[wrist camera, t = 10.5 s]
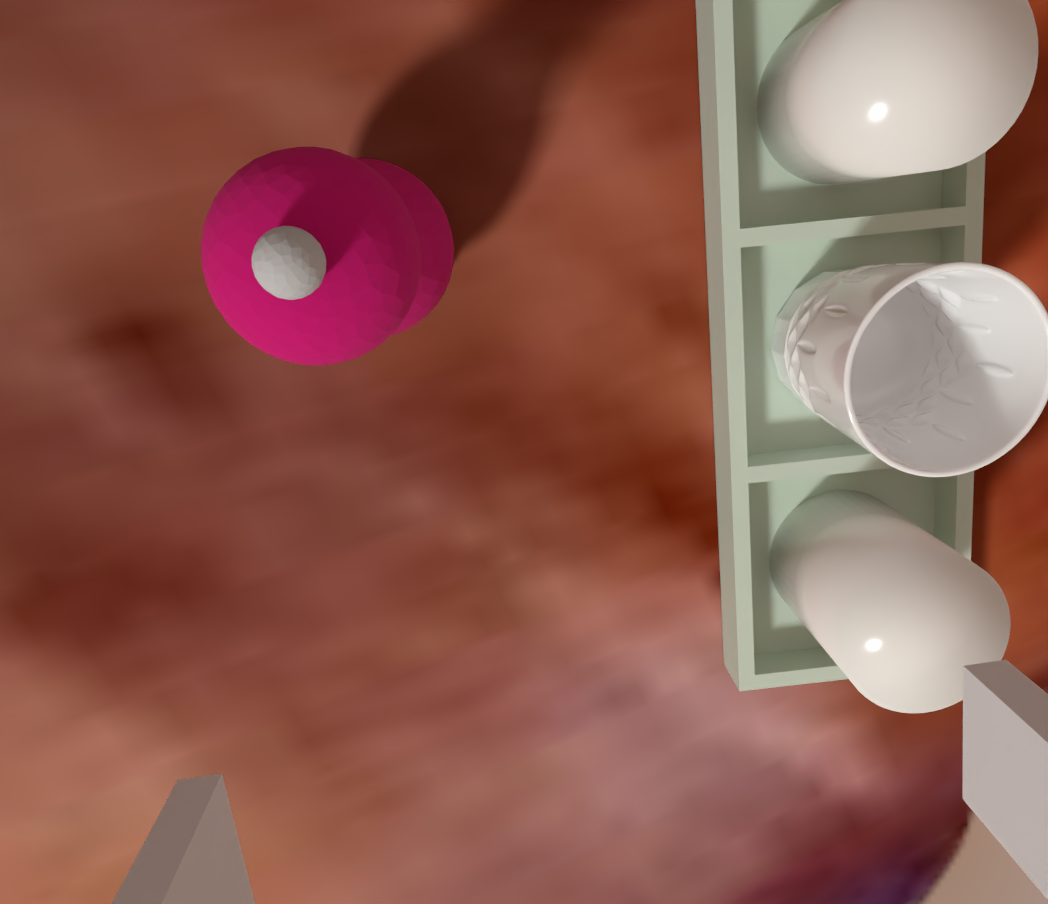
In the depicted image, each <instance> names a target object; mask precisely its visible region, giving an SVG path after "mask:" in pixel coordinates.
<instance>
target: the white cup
mask: <svg viewBox="0 0 1048 904" xmlns="http://www.w3.org/2000/svg"><path fill="white" fill-rule="evenodd" d="M771 353H772V356H773V360H774V363H775V367H776V370H777V374H778V377H779V380H780V381H781V382H782V383H783V384H784V385H785V386H786V387H787V388H788V389H789V390H790V391H791V392H792V393H793V395H794V396H795V397H796V398H797V399H798V400H799V401H800V402H802V403H803V404H805V405H806V406H807V407H808V408H809V409H810V410H812V411H813V412H814V413H815V414H817V415H818V416H819V417H820V418H822V419H823V420H824V421H826V422H827V423H828V424H830V425H831V426H832V427H834V428H835V429H836V430H838V431H839V432H841V433H842V434H844V435H845V436H847V437H848V438H850V439H851V440H853V441H854V442H856V443H857V444H859V445H860V446H862V447H863V448H865V449H866V450H868V451H869V452H870V453H872V454H873V455H875V456H876V457H878V458H879V459H880V460H882V461H883V462H885V463H886V464H888V465H890V466H892V467H894V468H896V469H898V470H901V471H903V472H906V473H909V474H913V475H918V476H924V477H948V476H955V475H960V474H964V473H968V472H971V471H974V470H977V469H979V468H981V467H984V466H986V465H988V464H990V463H991V462H993V461H995V460H997V459H998V458H1000V457H1001V456H1003V455H1004V454H1005V453H1007V452H1008V451H1009V450H1011V449H1012V448H1013V447H1014V446H1015V445H1016V444H1017V443H1018V442H1019V441H1020V440H1021V439H1022V438H1023V437H1024V436H1025V435H1026V434H1027V433H1028V432H1029V430H1030V429H1031V428H1032V426H1033V425H1034V424H1035V422H1036V421H1037V419H1038V418H1039V416H1040V414H1041V412H1042V411H1043V409H1044V407H1045V405H1046V402H1047V400H1048V313H1047V311H1046V309H1045V308H1044V306H1043V304H1042V303H1041V301H1040V300H1039V298H1038V297H1037V296H1036V295H1035V293H1034V292H1033V291H1032V290H1031V289H1030V288H1029V287H1028V286H1027V285H1026V284H1025V283H1023V282H1022V281H1021V280H1019V279H1018V278H1017V277H1015V276H1013V275H1012V274H1010V273H1008V272H1006V271H1004V270H1002V269H999V268H997V267H994V266H990V265H986V264H981V263H974V262H945V263H897V264H881V265H867V266H861V267H857V268H849V269H841V270H833V271H825V272H822V273H821V274H819V275H817V276H816V277H814V278H813V279H811V280H810V281H808V282H806V283H805V284H803V285H802V286H800V287H798V288H797V289H795V290H794V292H793V293H792V295H791V296H790V298H789V299H788V301H787V302H786V304H785V305H784V307H783V308H782V310H781V311H780V313H779V314H778V316H777V317H776V321H775V327H774V333H773V339H772V345H771Z"/></svg>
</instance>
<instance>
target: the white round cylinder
mask: <svg viewBox="0 0 1048 904" xmlns="http://www.w3.org/2000/svg"><path fill="white" fill-rule="evenodd" d="M1037 63H1038V35H1037V27H1036V23H1035V19H1034V15H1033V12H1032V10H1031V7H1030V5H1029V2H1028V0H843V1H842V2H840V3H839V4H837V5H835V6H834V7H832V8H831V9H829V10H828V11H826V12H824V13H823V14H821V15H820V16H818V17H817V18H815V19H813V20H812V21H810V22H809V23H807V24H805V25H804V26H802V27H801V28H799V29H798V30H796V31H795V32H793V33H792V34H791V35H790V36H789V37H787V38H786V39H785V40H784V41H783V42H782V43H781V44H780V46H779V47H778V48H777V49H776V51H775V52H774V53H773V55H772V56H771V58H770V60H769V61H768V63H767V65H766V67H765V69H764V72H763V74H762V77H761V80H760V84H759V88H758V94H757V107H756V111H757V121H758V126H759V130H760V134H761V136H762V139H763V142H764V144H765V146H766V148H767V150H768V151H769V153H770V154H771V155H772V157H773V158H774V159H775V161H776V162H777V163H778V164H779V165H780V166H781V167H782V168H784V169H785V170H786V171H787V172H789V173H790V174H792V175H794V176H795V177H797V178H800V179H802V180H804V181H808V182H811V183H816V184H840V183H847V182H855V181H862V180H870V179H878V178H885V177H893V176H900V175H908V174H915V173H923V172H930V171H937V170H943V169H949V168H952V167H955V166H959V165H962V164H964V163H966V162H968V161H970V160H973V159H975V158H976V157H978V156H979V155H981V154H983V153H984V152H986V151H987V150H988V149H990V148H991V147H992V146H993V145H995V144H996V143H997V142H998V141H999V140H1000V139H1001V138H1002V137H1003V136H1004V135H1005V134H1006V133H1007V131H1008V130H1009V129H1010V128H1011V126H1012V125H1013V124H1014V123H1015V121H1016V120H1017V118H1018V116H1019V115H1020V113H1021V112H1022V110H1023V108H1024V106H1025V104H1026V102H1027V100H1028V97H1029V95H1030V92H1031V89H1032V86H1033V83H1034V79H1035V75H1036V70H1037Z"/></svg>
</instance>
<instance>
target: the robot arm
mask: <svg viewBox="0 0 1048 904" xmlns="http://www.w3.org/2000/svg"><path fill="white" fill-rule="evenodd" d="M963 800H964V801H965V802H966V803H967V805H968V806H969V807H970V808H971V809H972V810H973V812H974V813H975V814H976V815H977V816H978V817H979V819H980V820H981V821H982V822H983V824H984V825H985V826H986V827H987V828H988V830H989V831H990V832H991V833H992V834H993V835H994V837H995V838H996V839H997V840H998V841H999V843H1000V844H1001V845H1002V846H1003V847H1004V849H1005V850H1006V851H1007V852H1008V853H1009V854H1010V856H1011V857H1012V858H1013V859H1014V860H1015V862H1016V863H1017V864H1018V865H1019V866H1020V867H1021V869H1022V870H1023V871H1024V872H1025V873H1026V875H1027V876H1028V877H1029V878H1030V879H1031V881H1032V882H1033V883H1034V884H1035V885H1036V887H1037V888H1038V889H1039V890H1040V891H1041V892H1042V894H1043V895H1044V896H1045V897H1046V898H1047V899H1048V694H1047V693H1046V692H1044V691H1043V690H1042V689H1041V688H1040V687H1038V686H1037V685H1036V684H1035V683H1034V682H1032V681H1031V680H1030V679H1029V678H1028V677H1026V676H1025V675H1024V674H1023V673H1022V672H1020V671H1019V670H1018V669H1017V668H1015V667H1014V666H1013V665H1012V664H1011V663H1009V662H1008V661H1007V660H1000V661H993V662H986V663H979V664H972V665H966V666H963ZM112 904H255V901H254V897H253V893H252V889H251V886H250V882H249V878H248V874H247V870H246V866H245V862H244V858H243V855H242V851H241V847H240V843H239V839H238V835H237V831H236V827H235V823H234V820H233V816H232V812H231V808H230V804H229V800H228V796H227V792H226V789H225V785H224V781H223V777H222V774H217V775H210V776H203V777H196V778H189V779H182V780H178V781H177V782H176V784H175V786H174V788H173V790H172V792H171V794H170V796H169V797H168V799H167V801H166V803H165V805H164V807H163V809H162V811H161V812H160V814H159V816H158V818H157V820H156V822H155V824H154V826H153V827H152V829H151V831H150V833H149V835H148V837H147V839H146V841H145V842H144V844H143V846H142V848H141V850H140V852H139V854H138V855H137V857H136V859H135V861H134V863H133V865H132V867H131V869H130V870H129V872H128V874H127V876H126V878H125V880H124V882H123V884H122V885H121V887H120V889H119V891H118V893H117V895H116V897H115V899H114V900H113V902H112Z"/></svg>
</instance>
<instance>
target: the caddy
mask: <svg viewBox="0 0 1048 904" xmlns="http://www.w3.org/2000/svg"><path fill="white" fill-rule="evenodd" d="M842 1H843V0H696V21H697V45H698V68H699V91H700V115H701V138H702V162H703V185H704V208H705V232H706V255H707V278H708V302H709V325H710V348H711V372H712V395H713V418H714V442H715V465H716V488H717V512H718V535H719V558H720V582H721V605H722V629H723V652H724V665H725V667H726V668H727V670H728V672H729V674H730V676H731V677H732V679H733V681H734V683H735V684H736V686H737V688H738V690H739V691H746V690H755V689H764V688H773V687H781V686H790V685H799V684H808V683H816V682H825V681H834V680H843V679H848V677H847V676H846V675H845V674H844V673H843V671H842V670H841V669H840V668H839V667H838V665H837V664H836V663H835V662H834V661H833V659H832V658H831V657H830V656H829V654H828V653H827V652H826V651H825V650H824V648H823V647H822V646H821V645H820V644H819V642H818V641H817V640H816V639H815V638H814V636H813V635H812V634H811V633H810V632H809V630H808V629H807V628H806V627H805V625H804V624H803V623H802V622H801V621H800V619H799V618H798V617H797V616H796V615H795V613H794V612H793V611H792V610H791V609H790V607H789V606H788V605H787V604H786V603H785V601H784V600H783V599H782V598H781V596H780V595H779V594H778V592H777V590H776V589H775V587H774V584H773V582H772V579H771V575H770V570H769V553H770V548H771V544H772V541H773V538H774V536H775V534H776V531H777V529H778V528H779V526H780V525H781V523H782V522H783V520H784V519H785V518H786V517H787V515H788V514H789V513H790V512H791V511H793V510H794V509H795V508H796V507H797V506H799V505H800V504H801V503H803V502H804V501H806V500H808V499H809V498H812V497H814V496H816V495H818V494H822V493H825V492H829V491H834V490H855V491H859V492H864V493H866V494H869V495H872V496H873V497H875V498H877V499H879V500H880V501H882V502H883V503H885V504H886V505H888V506H889V507H891V508H892V509H894V510H895V511H897V512H898V513H900V514H901V515H903V516H904V517H906V518H907V519H909V520H910V521H912V522H913V523H915V524H916V525H918V526H919V527H921V528H922V529H924V530H925V531H927V532H928V533H930V534H931V535H933V536H934V537H936V538H937V539H939V540H940V541H942V542H943V543H945V544H946V545H948V546H949V547H951V548H952V549H954V550H955V551H957V552H958V553H960V554H961V555H963V556H964V557H966V558H967V559H969V560H970V561H971V545H972V517H973V489H974V471H971V472H968V473H964V474H960V475H955V476H948V477H924V476H918V475H913V474H909V473H906V472H903V471H901V470H898V469H896V468H894V467H892V466H890V465H888V464H886V463H885V462H883V461H882V460H880V459H879V458H878V457H876V456H875V455H873V454H872V453H870V452H869V451H868V450H866V449H865V448H863V447H862V446H860V445H859V444H857V443H856V442H854V441H853V440H851V439H850V438H848V437H847V436H845V435H844V434H842V433H841V432H839V431H838V430H836V429H835V428H834V427H832V426H831V425H830V424H828V423H827V422H826V421H824V420H823V419H822V418H820V417H819V416H818V415H817V414H815V413H814V412H813V411H812V410H810V409H809V408H808V407H807V406H806V405H805V404H803V403H802V402H800V401H799V400H798V399H797V398H796V397H795V396H794V395H793V393H792V392H791V391H790V390H789V389H788V388H787V387H786V386H785V385H784V384H783V383H782V382H781V381H780V380H779V377H778V374H777V370H776V367H775V363H774V360H773V356H772V353H771V345H772V339H773V333H774V327H775V321H776V317H777V316H778V314H779V313H780V311H781V310H782V308H783V307H784V305H785V304H786V302H787V301H788V299H789V298H790V296H791V295H792V293H793V292H794V290H795V289H797V288H798V287H800V286H802V285H803V284H805V283H806V282H808V281H810V280H811V279H813V278H814V277H816V276H817V275H819V274H821V273H822V272H825V271H833V270H841V269H849V268H857V267H861V266H867V265H881V264H897V263H945V262H974V263H981V264H982V237H983V209H984V181H985V153H986V152H984V153H983V154H981V155H979V156H978V157H976V158H975V159H973V160H970V161H968V162H966V163H964V164H962V165H959V166H955V167H952V168H949V169H943V170H937V171H930V172H923V173H915V174H908V175H900V176H893V177H885V178H878V179H870V180H862V181H855V182H847V183H840V184H816V183H811V182H808V181H804V180H802V179H800V178H797V177H795V176H794V175H792V174H790V173H789V172H787V171H786V170H785V169H784V168H782V167H781V166H780V165H779V164H778V163H777V162H776V161H775V159H774V158H773V157H772V155H771V154H770V153H769V151H768V150H767V148H766V146H765V144H764V142H763V139H762V136H761V134H760V130H759V126H758V121H757V111H756V107H757V94H758V88H759V84H760V80H761V77H762V74H763V72H764V69H765V67H766V65H767V63H768V61H769V60H770V58H771V56H772V55H773V53H774V52H775V51H776V49H777V48H778V47H779V46H780V44H781V43H782V42H783V41H784V40H785V39H786V38H787V37H789V36H790V35H791V34H792V33H793V32H795V31H796V30H798V29H799V28H801V27H802V26H804V25H805V24H807V23H809V22H810V21H812V20H813V19H815V18H817V17H818V16H820V15H821V14H823V13H824V12H826V11H828V10H829V9H831V8H832V7H834V6H835V5H837V4H839V3H840V2H842Z"/></svg>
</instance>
